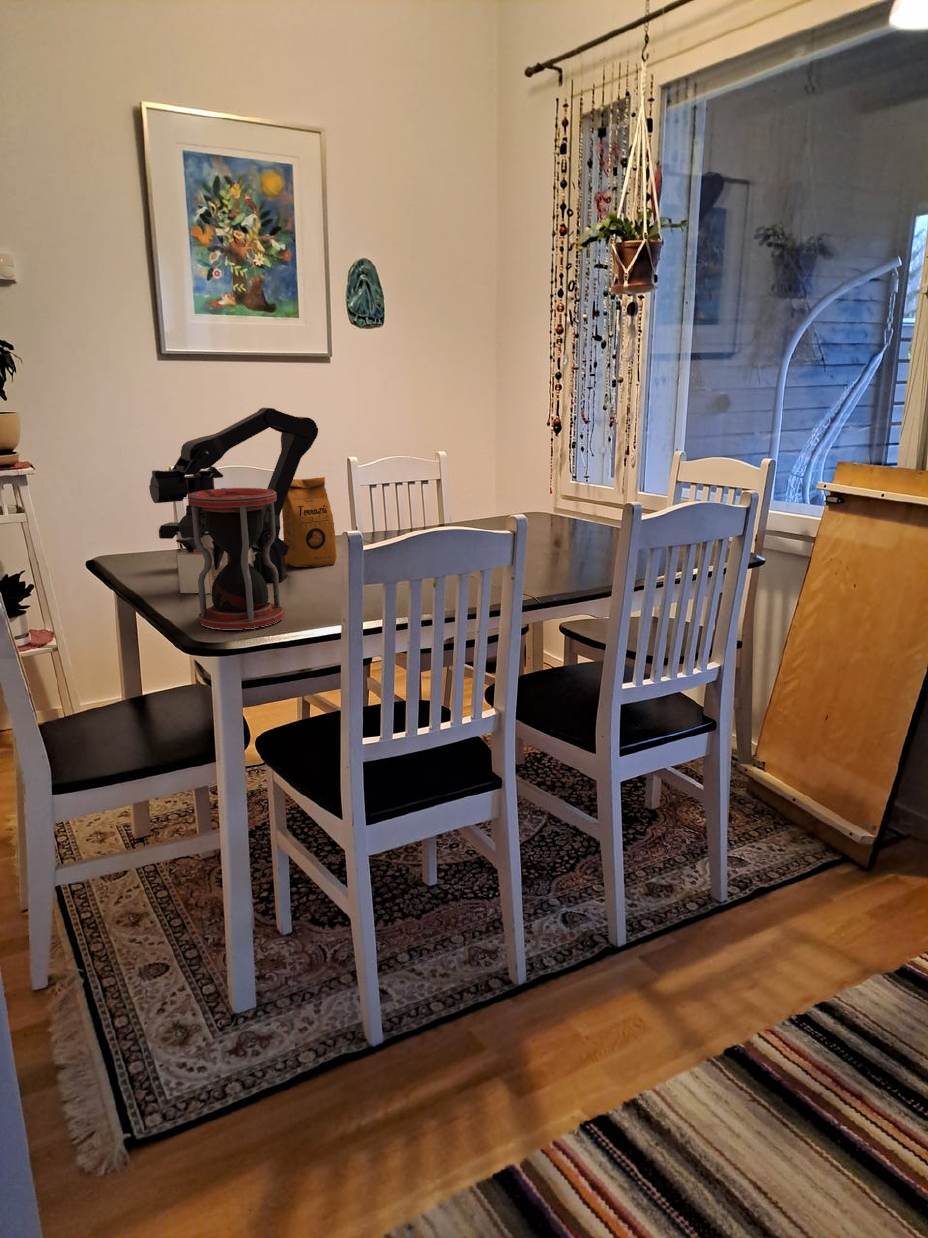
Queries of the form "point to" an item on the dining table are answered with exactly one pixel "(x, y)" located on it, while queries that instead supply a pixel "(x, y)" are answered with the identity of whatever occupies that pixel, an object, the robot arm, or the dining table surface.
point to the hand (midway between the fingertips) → (207, 569)
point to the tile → (192, 572)
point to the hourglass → (236, 557)
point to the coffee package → (308, 524)
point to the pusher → (211, 550)
